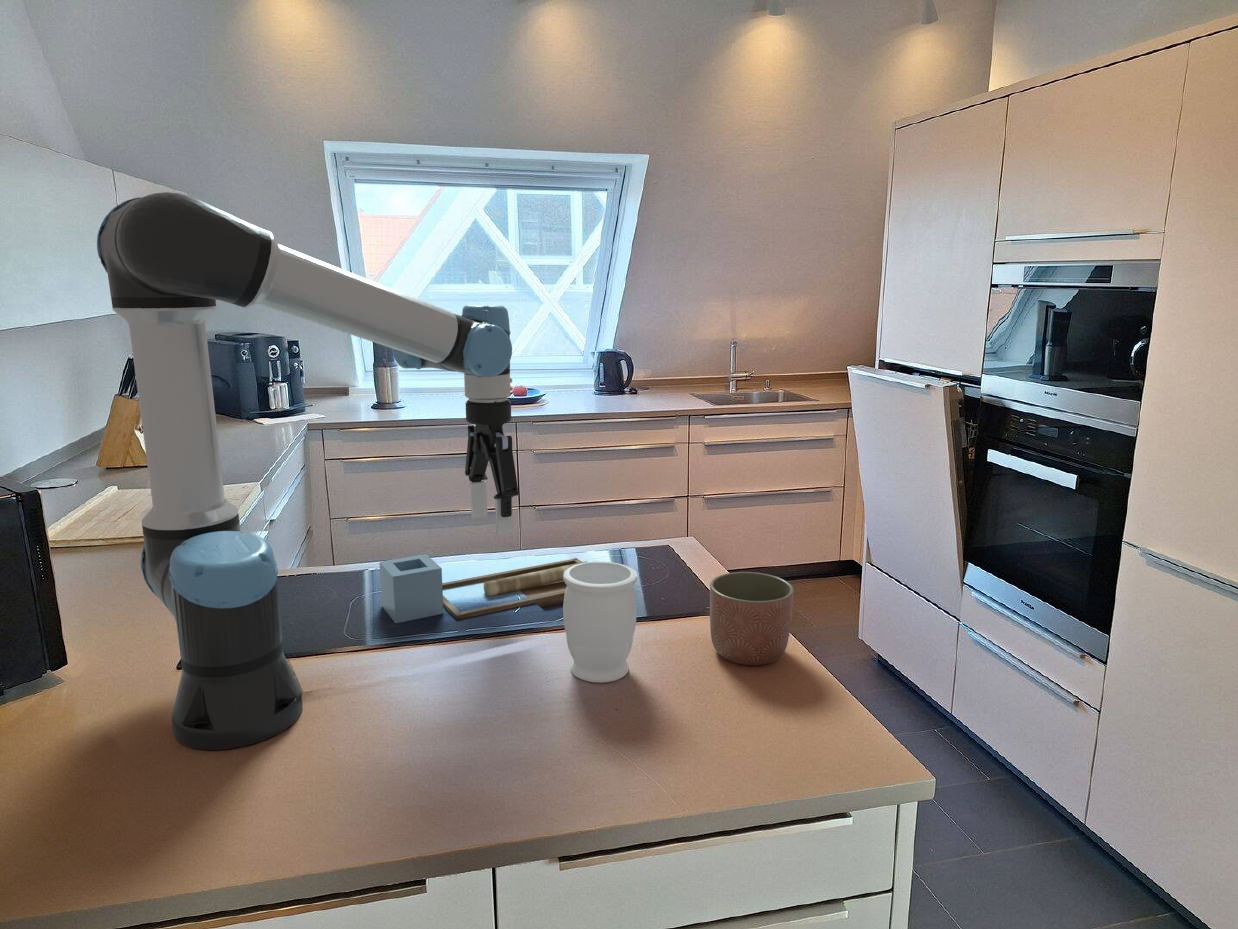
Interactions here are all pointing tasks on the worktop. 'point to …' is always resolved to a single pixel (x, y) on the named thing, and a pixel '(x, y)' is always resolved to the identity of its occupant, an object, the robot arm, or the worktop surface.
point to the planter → (750, 616)
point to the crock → (411, 588)
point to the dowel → (525, 580)
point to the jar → (599, 619)
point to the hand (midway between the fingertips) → (491, 525)
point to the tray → (537, 594)
